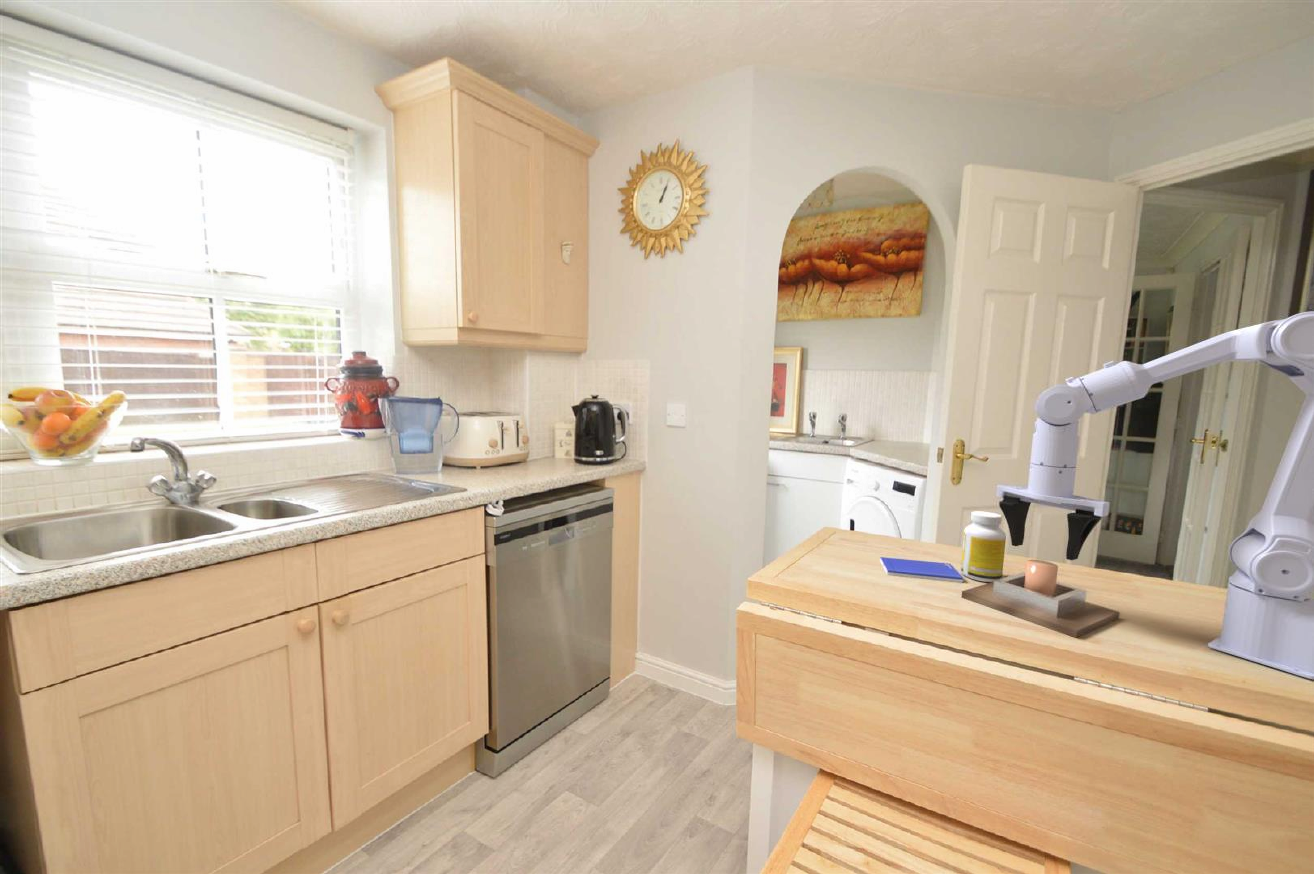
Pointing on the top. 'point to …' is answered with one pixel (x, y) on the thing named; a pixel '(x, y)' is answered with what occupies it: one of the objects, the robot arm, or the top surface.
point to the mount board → (1067, 624)
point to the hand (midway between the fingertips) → (1043, 551)
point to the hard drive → (921, 569)
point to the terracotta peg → (1041, 577)
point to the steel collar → (1040, 596)
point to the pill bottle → (983, 547)
